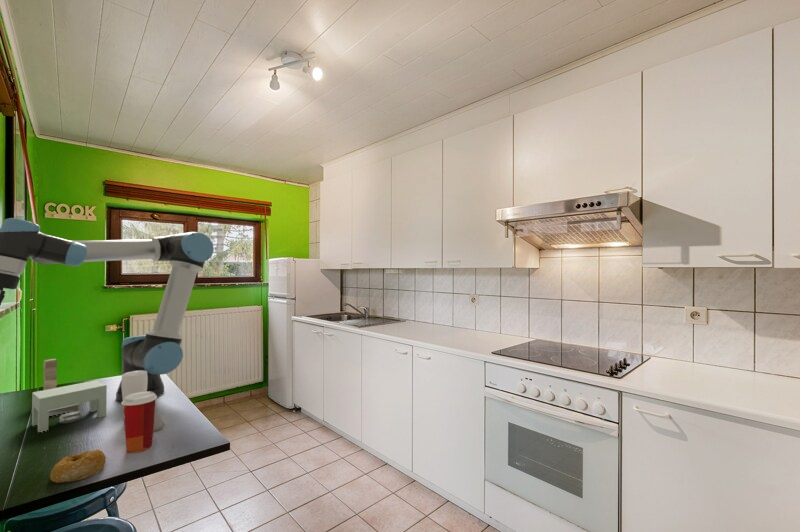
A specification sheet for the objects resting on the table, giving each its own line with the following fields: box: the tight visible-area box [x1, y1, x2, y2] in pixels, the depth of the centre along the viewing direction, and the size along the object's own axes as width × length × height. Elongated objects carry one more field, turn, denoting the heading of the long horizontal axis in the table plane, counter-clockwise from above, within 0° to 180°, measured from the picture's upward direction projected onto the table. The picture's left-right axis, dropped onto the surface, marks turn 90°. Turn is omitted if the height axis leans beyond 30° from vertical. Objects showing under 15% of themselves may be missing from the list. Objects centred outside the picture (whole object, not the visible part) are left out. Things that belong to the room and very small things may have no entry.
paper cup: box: [120, 391, 158, 454], centre depth 98 cm, size 8×8×14 cm
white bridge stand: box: [31, 379, 108, 433], centre depth 117 cm, size 10×16×10 cm, turn 144°
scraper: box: [42, 358, 79, 417], centre depth 128 cm, size 20×8×16 cm, turn 54°
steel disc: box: [59, 411, 82, 424], centre depth 117 cm, size 5×5×2 cm
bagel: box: [49, 449, 107, 484], centre depth 86 cm, size 10×11×5 cm
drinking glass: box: [120, 370, 148, 410], centre depth 117 cm, size 7×7×15 cm
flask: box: [153, 394, 165, 433], centre depth 110 cm, size 7×7×10 cm
